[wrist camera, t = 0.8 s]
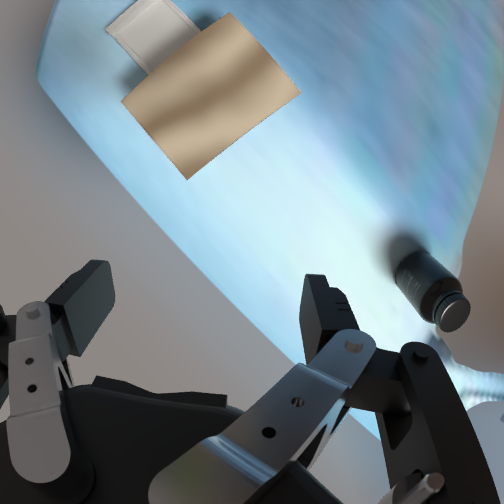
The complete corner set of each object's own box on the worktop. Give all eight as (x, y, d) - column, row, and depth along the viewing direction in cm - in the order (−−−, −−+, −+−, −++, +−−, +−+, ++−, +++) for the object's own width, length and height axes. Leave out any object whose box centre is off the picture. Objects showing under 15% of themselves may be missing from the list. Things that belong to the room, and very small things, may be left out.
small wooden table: (143, 104, 33) (120, 101, 27) (234, 30, 29) (229, 12, 23) (199, 170, 36) (187, 180, 30) (293, 98, 32) (301, 92, 26)
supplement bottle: (412, 299, 43) (447, 347, 32) (385, 277, 41) (420, 326, 30) (441, 265, 40) (484, 307, 29) (416, 240, 39) (461, 280, 28)
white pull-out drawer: (112, 33, 29) (104, 29, 26) (161, -7, 27) (155, -14, 24) (181, 110, 33) (176, 110, 31) (235, 68, 31) (233, 64, 29)
